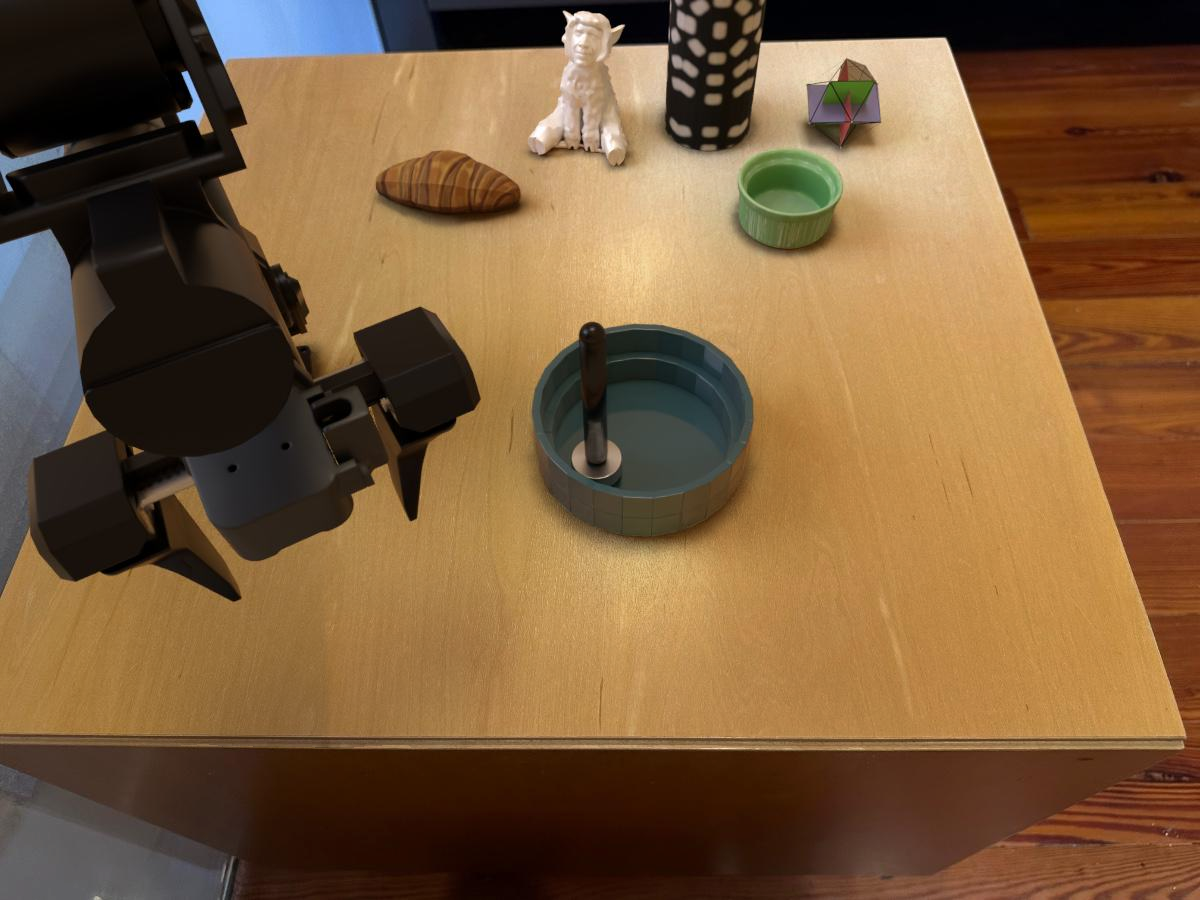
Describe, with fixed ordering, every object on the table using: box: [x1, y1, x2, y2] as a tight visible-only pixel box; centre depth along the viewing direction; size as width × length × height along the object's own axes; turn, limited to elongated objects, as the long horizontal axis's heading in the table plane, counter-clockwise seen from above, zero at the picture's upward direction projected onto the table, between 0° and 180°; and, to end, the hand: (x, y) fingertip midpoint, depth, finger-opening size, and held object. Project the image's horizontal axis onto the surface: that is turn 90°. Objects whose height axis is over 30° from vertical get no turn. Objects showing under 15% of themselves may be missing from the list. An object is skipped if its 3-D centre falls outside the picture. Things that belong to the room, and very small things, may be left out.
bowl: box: [531, 323, 755, 538], centre depth 65 cm, size 15×15×6 cm
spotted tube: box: [664, 0, 767, 152], centre depth 82 cm, size 8×8×20 cm
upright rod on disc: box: [571, 321, 622, 486], centre depth 59 cm, size 4×4×15 cm
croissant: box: [375, 149, 522, 214], centre depth 82 cm, size 14×7×5 cm, turn 81°
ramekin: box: [737, 147, 844, 250], centre depth 80 cm, size 9×9×4 cm
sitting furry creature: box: [527, 10, 628, 167], centre depth 85 cm, size 10×9×12 cm
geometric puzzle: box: [806, 57, 883, 149], centre depth 86 cm, size 7×7×8 cm
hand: (326, 554), depth 46 cm, fingers open, 9 cm apart
